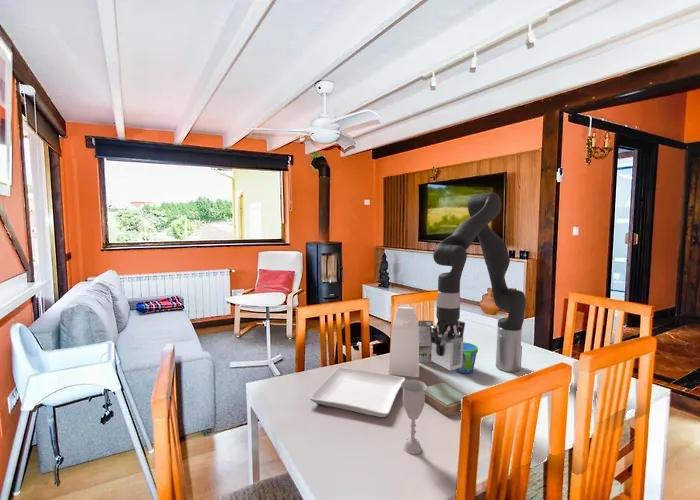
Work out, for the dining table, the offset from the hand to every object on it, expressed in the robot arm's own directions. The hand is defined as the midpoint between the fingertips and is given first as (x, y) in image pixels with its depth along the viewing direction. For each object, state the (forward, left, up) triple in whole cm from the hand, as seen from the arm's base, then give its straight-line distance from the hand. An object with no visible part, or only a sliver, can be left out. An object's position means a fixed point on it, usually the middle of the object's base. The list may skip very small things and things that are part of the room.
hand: (446, 353), depth 128 cm
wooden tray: (0, 0, -17) cm, 17 cm away
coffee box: (-19, -33, -17) cm, 42 cm away
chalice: (+26, +15, -17) cm, 34 cm away
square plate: (+23, -18, -18) cm, 34 cm away
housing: (0, 0, -4) cm, 4 cm away
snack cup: (-25, -16, -17) cm, 34 cm away
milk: (-4, -28, -17) cm, 33 cm away
